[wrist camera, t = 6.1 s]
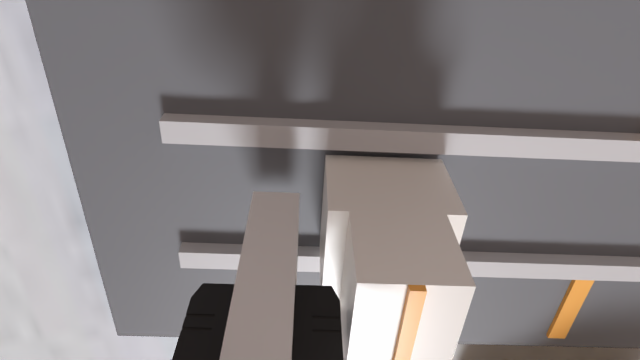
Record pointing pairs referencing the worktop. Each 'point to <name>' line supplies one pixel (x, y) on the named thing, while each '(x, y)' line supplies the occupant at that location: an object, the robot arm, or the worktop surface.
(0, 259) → the worktop surface
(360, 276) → the fader
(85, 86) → the console
